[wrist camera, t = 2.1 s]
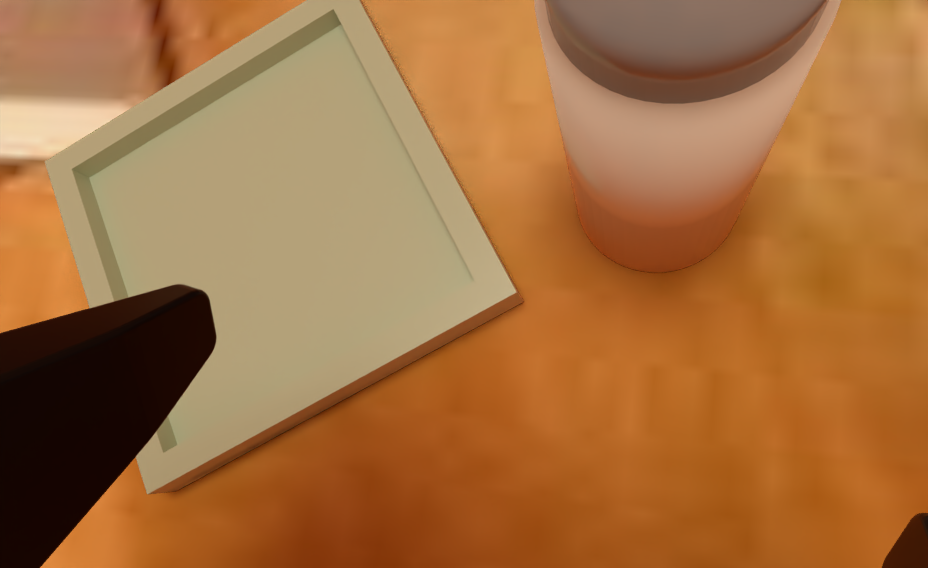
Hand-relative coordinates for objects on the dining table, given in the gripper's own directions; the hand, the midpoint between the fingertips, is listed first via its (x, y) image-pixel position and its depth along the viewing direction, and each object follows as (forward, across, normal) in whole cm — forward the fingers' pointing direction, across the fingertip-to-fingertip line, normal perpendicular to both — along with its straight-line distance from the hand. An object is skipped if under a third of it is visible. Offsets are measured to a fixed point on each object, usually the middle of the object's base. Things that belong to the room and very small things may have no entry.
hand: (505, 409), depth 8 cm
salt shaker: (+15, 0, +4) cm, 16 cm away
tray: (+12, +13, +7) cm, 19 cm away
